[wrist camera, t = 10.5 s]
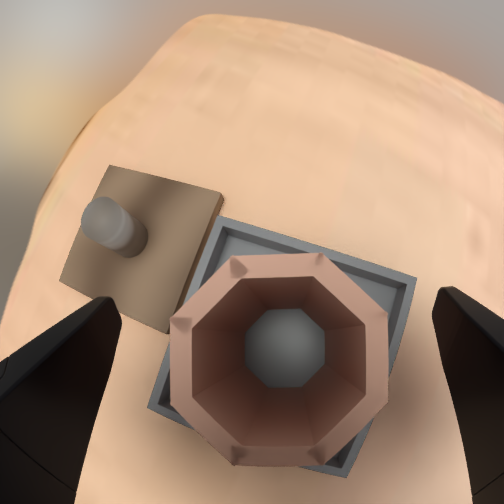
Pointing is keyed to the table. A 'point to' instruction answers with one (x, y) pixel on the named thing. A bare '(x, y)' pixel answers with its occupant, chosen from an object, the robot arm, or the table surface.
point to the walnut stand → (141, 243)
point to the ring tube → (252, 388)
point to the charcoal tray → (292, 321)
